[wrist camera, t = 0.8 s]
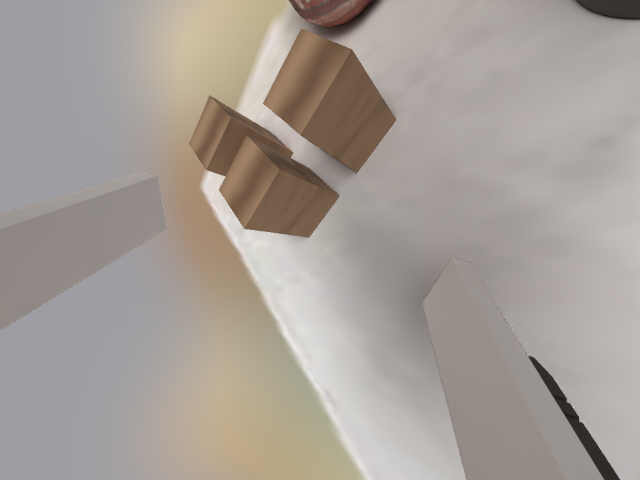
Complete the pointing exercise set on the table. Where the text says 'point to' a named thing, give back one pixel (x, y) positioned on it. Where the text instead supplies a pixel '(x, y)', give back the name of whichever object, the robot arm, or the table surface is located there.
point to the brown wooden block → (275, 191)
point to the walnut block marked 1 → (227, 136)
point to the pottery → (329, 10)
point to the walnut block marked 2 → (330, 100)
